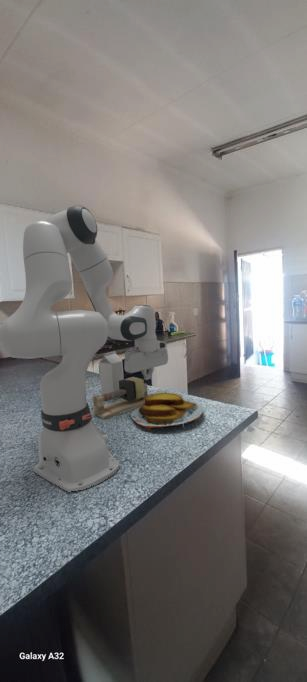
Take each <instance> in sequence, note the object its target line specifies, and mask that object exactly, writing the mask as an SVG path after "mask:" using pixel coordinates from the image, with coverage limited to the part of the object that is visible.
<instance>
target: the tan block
mask: <svg viewBox="0 0 307 682" xmlns="http://www.w3.org/2000/svg"><path fill="white" fill-rule="evenodd" d="M125 380H127V381H131V382H134V396H135V399H139V398H142V397H145V396H144V383H145V382H144V378H139V377H135V376H131V377H128V378H125Z"/></svg>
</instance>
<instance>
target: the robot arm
mask: <svg viewBox="0 0 307 682" xmlns="http://www.w3.org/2000/svg"><path fill="white" fill-rule="evenodd" d="M97 236H98V225H97V222H96V219H95V217H94V216H93V214H92V212H91V211H90V210H89V209H88V208H87V207H85V206H83V205H80V204H78V205H77V204H76V205H73V206H69V207H68V208H66V209H64V210H62V211H60V212H59V211H58V212H57V213H55V214H52V215H49V216H48V217H45V218H44V219H43V220H37V221H33V222H30V223H29V224H28V225H26V227H25V229H24V232H23V239H22V240H23V242H22V252H23V253H22V254H23V256H22V257H23V265H24V273H25V293H24V297H23V299H22V302H21V304H20V305H19V307H18V308H17V310H15V312H14V313H12V314H11V315H10V316H8V317H7V318H6V319H5V320H4V321H3V322H2V324H1V326H0V347H1V348H2V350H3V351H4V352H5V354H7V356H9V357H10V358H13V359H14V358H15V359H28V360H29V359H30V360H31V359H40V358H48V357H55V356H62V358H61V361H60V362H59V364H58V365H57V366H55V367H54V368H52V369H51V370H50V371H48V372H46V374H45V375H43V377H42V378H41V380H40V382H39V391H40V398H41V407H42V408H41V411H40V412H41V415H40V418H41V419H40V420H41V425H42V429H41V430H42V431H41V432H40V434H39V436H38V437H37V440H38V441H37V442H38V443H37V444H38V458H39V459H38V462H37V464H36V465H35V466H34V469H33V472H34V473H35V474H37V475H39V476H40V477H42V478H43V479H45V480H46V481H49V482H50V483H52V484H53V485H55V484H56V485H57V486H56V485H55V486H56V487H58V486H59V487H60V488H59V487H58V488H59V489H61V488H62V489H61V490H63V489H64V490H66V491H68V492H67V493H69V492H70V493H72V492H71V491H77V492H79V491H78V490H81V491H83V489H84V490H86V488H87V489H90V488H92V487H94V486H96V485H98V484H100V483H102V482H104V481H106V480H107V479H109V478H110V476H111V477H112V476H113V475H114V474H116V473H117V472H118V471H117V470H119V469H120V468H121V467H120V463H119V461H118V460H117V459H116V458H115V456H114V455H113V454H112V453H111V451H109V449H108V448H109V447H108V443H109V438H108V435H107V434H104V433H103V434H101V431H100V427H99V426H98V425H95V422H94V421H93V420H92V418H93V417H92V410H91V408H90V406H89V402H87V401H88V400H87V388H86V387H87V386H86V385H87V384H86V381H87V379H86V378H87V372H88V368H89V365H90V363H91V361H92V360H93V358H94V356H95V355H96V354H97V352H99V350H100V349H101V348H102V347H104V345H105V344H106V343H107V340H111V341H128V342H132V341H134V347H133V348H128V349H127V350H126V351H125V352H124V366H123V369H124V371H125V372H126V373H128V374H133V373H134V374H135V373H136V372H141V374H142V375H143V380H145V381H149V380H151V379H153V373H154V371H155V368H156V367H160V366H165V365H167V364H168V362H169V355H168V354H169V352H168V349H167V346H168V344H167V342H164V341H160V340H159V339H157V334H156V329H157V321H156V320H157V319H156V314H155V313H156V312H155V309H154V308H153V307H152V306H151V305H149V304H148V305H146V304H136V305H133V306H134V307H133V308H132V309H131V310H129V311H128V312H127V313H125V314H117V313H116V312H114V310H113V309H112V305H111V303H110V301H109V299H108V296H107V293H106V291H107V288H108V287H109V286H110V285H111V283H112V281H113V278H114V271H113V267H112V265H111V263H110V260H109V258H108V257H107V256H108V255H106V252H105V250H104V249H103V247H102V246H101V245H100V243H99V241H98V240H97ZM68 254H69V255H68ZM68 257H70V259H71V261H72V264H73V266H74V267H75V270H76V271H77V274H78V275H79V276H80V279H81V280H82V282H83V285H84V287H85V291H86V294H87V296H88V299H89V301H90V303H91V305H92V307H93V310H94V311H93V310H85V309H75V310H59V311H58V310H57V311H55V310H52V309H51V308H52V306H54V305H55V304H56V303H58V302H60V301H62V300H64V299H65V298H67V296H68V295H69V294H70V293H71V292H72V289H73V281H72V274H71V269H70V263H69V258H68ZM119 467H120V468H119ZM108 477H109V478H108ZM105 479H106V480H105ZM93 485H94V486H93ZM91 486H92V487H91ZM64 490H63V491H64ZM66 491H65V492H66Z"/></svg>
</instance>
